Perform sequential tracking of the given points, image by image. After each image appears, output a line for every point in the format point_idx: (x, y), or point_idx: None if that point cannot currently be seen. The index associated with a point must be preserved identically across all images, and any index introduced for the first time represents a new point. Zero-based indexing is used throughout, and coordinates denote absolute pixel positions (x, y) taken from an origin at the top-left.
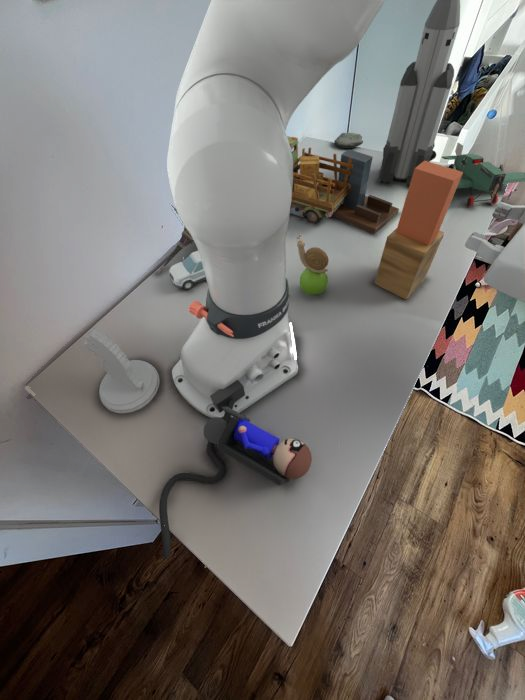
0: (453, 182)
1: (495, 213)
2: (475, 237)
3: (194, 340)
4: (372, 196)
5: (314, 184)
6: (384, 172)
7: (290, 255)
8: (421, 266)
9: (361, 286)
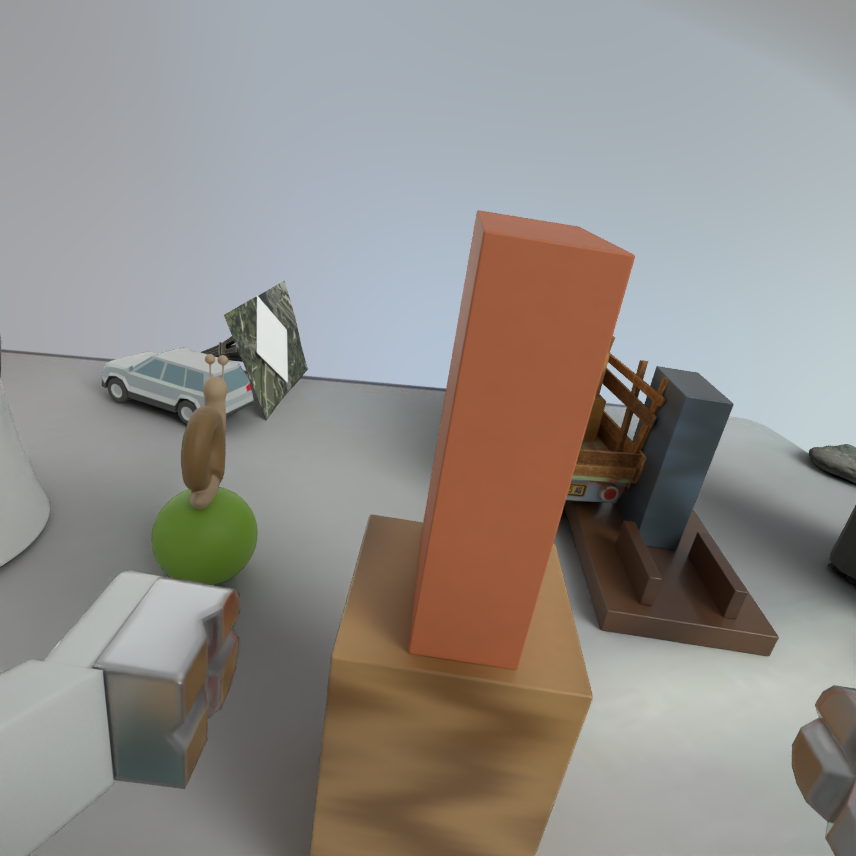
0: (488, 247)
1: (813, 749)
2: (114, 597)
3: None
4: (709, 540)
5: None
6: (847, 538)
7: (340, 496)
8: (361, 757)
9: (303, 687)
